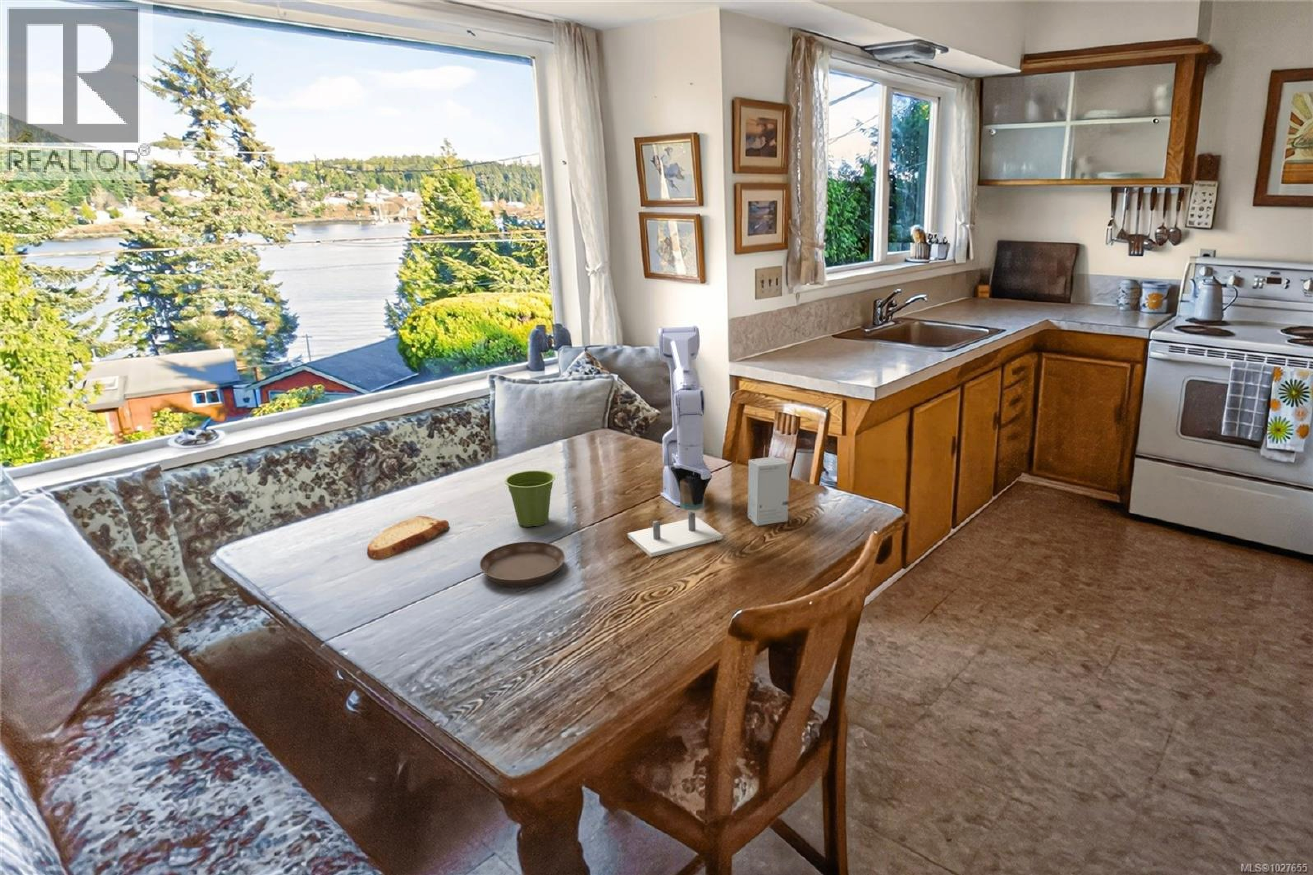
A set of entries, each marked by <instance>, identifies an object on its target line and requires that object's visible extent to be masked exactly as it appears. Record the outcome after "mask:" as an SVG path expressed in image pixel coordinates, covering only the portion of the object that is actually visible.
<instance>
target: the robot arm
mask: <svg viewBox="0 0 1313 875" xmlns="http://www.w3.org/2000/svg"><path fill="white" fill-rule="evenodd" d="M700 336H701V335H700V329H699V327H698V326H697V325H693V326H677V327H675V326H674V327H659V328H658V330H657V344H658V345H657V346H658V357H659V360H660V361H662V362H663V363H664V362H665V363H667V367H668V369H669V377H670V378H669V380H670V400H671V401H670V402H671V420H672V422H671V423H672V424H671V425H672V426H671V429H669V430H668V431H666V433H664V435H663V436H662V438H661V439H662V443H661V444H662V445H661V448H662V449H661V450H662V451H661V452H662V454H661V455H662V463H663V464H662V465H664V467H663V470H662V482H663V483H662V485H663V492H660V496H662V497H663V498H664V499H666V500H667V501H669V502H670V503H672V504H673V505H674V506H675V507H680V481H681V480H682V479H683V478H686V479H687V481H688V483H689V486H690V490H691V498H692V503H693V504H694V505H697V504H702V502H703V498H704V499H705V494H706V490H707V487H708V485H709V483H710V481H711V480H712V479H713V475H712V473H711V472H712V470H711V469H710V468H709V467H708V465H707V463H706V461H705V459H704V429H703V428H704V425H703V424H704V422H703V420H704V419H703V415H705V412H706V411H705V410H706V399H705V398H706V397H705V392H704V389H703V388H702V386H700V380H699V379H700V378H699V374H698V371H697V369H696V368H695V367H694V366H692V362H693V361H694V360H696V359H697V356H698V355H699V350H700V346H701V345H700V343H701V341H700V340H701V339H700Z"/></svg>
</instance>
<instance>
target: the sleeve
mask: <svg viewBox="0 0 1313 875" xmlns="http://www.w3.org/2000/svg"><path fill="white" fill-rule="evenodd" d="M704 506H705V497H704V498H703V502H702V504H697V505H694V504H693V503H692V498H691V490H690V486H689V483H688V481H687V479H686V478H683V479H682V480H681V481H680V506H679V507H680V508H682V509H683V510H685V511H697V510H701V509H703V508H704Z"/></svg>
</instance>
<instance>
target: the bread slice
mask: <svg viewBox="0 0 1313 875" xmlns="http://www.w3.org/2000/svg"><path fill="white" fill-rule="evenodd" d="M449 526H450V524H449V521H448V520H446V519H443V520H441V519H437V518H434V517H430V516H423V515H416V516H413V517H411V518H409V519H406V520H402V521H400V522H398V523H396V524H393V525H392V526H390V527H388V528H385V529H384V530H383V531H382V532H381V533H380V534H378V535H377V536H376V537H374V538H373V539H372V540H371V541H370V543H369V544H368V546H367V551H366V555H367V557H368V558H370V559H371V560H377V561H378V560H383V559H387V558H390V557H394V556H396V555H398V554H401V553H403V552H406V551H408V550H410V549H413V548H415V547H417V546H420V545H422V544H423V543H424V544H425V543H426V542H427V541H429V540H432V539H434V538H435V537H437V536H438V535H439V534H441V533H442V532H444V531H445V530H447V529H448V528H449Z"/></svg>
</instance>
